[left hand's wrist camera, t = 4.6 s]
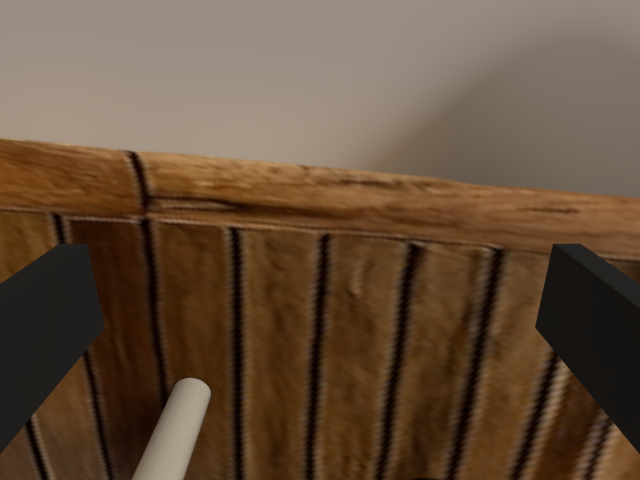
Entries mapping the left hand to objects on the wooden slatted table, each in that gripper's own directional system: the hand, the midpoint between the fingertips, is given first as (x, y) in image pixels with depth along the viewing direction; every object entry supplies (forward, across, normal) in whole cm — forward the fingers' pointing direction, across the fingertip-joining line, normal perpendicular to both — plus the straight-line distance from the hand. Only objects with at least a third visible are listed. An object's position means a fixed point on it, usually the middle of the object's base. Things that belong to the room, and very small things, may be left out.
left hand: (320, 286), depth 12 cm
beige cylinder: (+28, +14, +28) cm, 42 cm away
